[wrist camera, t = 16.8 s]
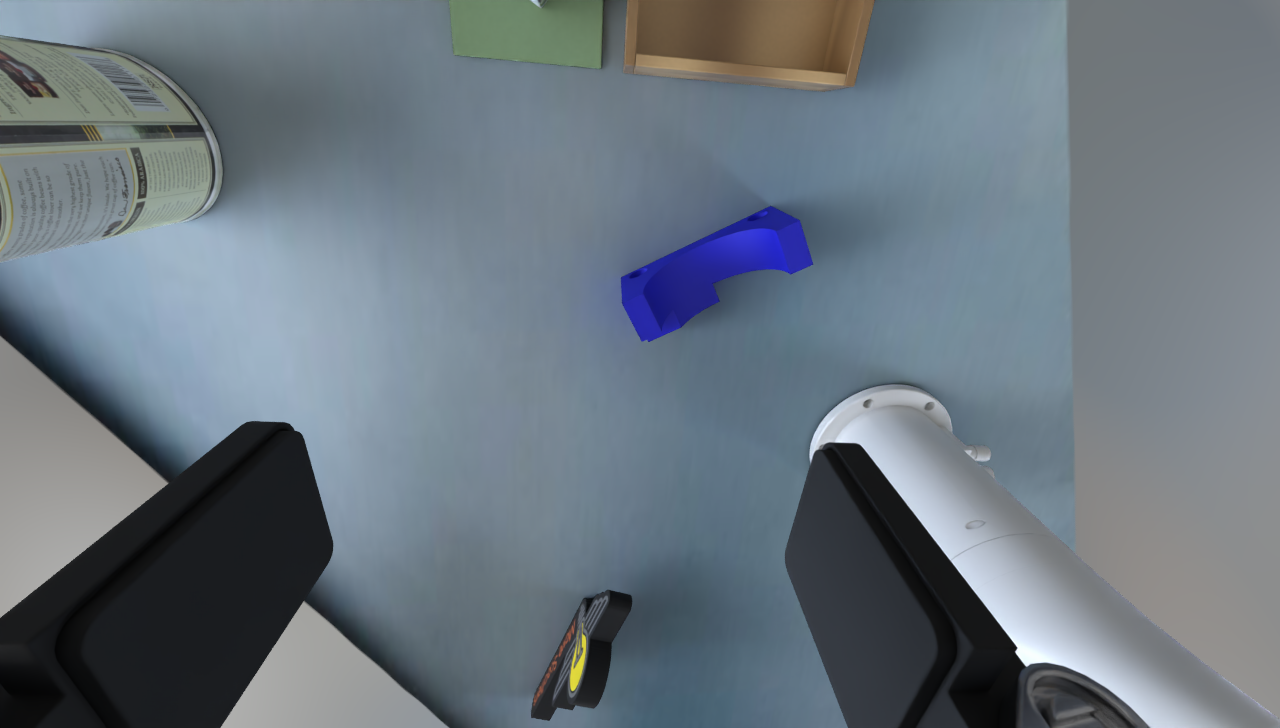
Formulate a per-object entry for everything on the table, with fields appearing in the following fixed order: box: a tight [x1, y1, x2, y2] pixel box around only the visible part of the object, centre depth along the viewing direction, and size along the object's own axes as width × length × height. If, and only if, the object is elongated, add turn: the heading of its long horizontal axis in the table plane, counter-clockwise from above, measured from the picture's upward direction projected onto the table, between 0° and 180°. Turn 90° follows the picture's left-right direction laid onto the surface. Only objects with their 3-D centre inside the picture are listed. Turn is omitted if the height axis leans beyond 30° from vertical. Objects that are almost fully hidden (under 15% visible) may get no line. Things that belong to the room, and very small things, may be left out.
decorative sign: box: [531, 590, 632, 721], centre depth 50 cm, size 27×2×10 cm, turn 158°
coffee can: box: [0, 35, 223, 263], centre depth 24 cm, size 10×10×14 cm
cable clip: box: [621, 206, 813, 342], centre depth 34 cm, size 12×4×6 cm, turn 115°
